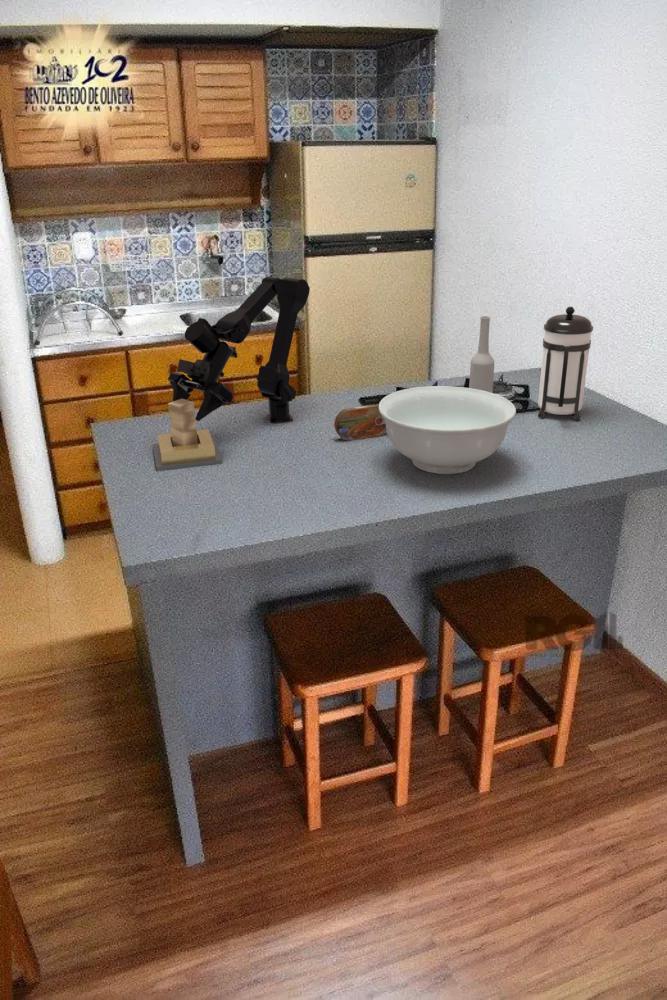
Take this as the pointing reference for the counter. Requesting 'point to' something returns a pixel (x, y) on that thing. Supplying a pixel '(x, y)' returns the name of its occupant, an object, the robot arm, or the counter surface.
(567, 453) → the counter surface
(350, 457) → the counter surface
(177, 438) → the pin
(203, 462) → the socket
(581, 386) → the coffee press
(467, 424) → the bowl
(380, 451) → the counter surface
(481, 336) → the bottle
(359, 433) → the tin
